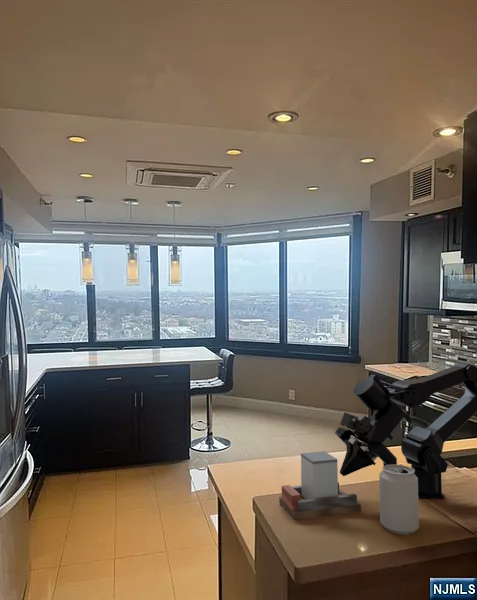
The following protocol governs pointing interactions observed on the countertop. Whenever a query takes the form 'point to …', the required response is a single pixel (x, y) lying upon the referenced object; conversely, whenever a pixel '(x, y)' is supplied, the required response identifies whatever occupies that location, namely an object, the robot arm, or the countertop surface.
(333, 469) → the grey rectangular box
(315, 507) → the grey rail holder
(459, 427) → the robot arm
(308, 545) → the countertop surface
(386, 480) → the can
